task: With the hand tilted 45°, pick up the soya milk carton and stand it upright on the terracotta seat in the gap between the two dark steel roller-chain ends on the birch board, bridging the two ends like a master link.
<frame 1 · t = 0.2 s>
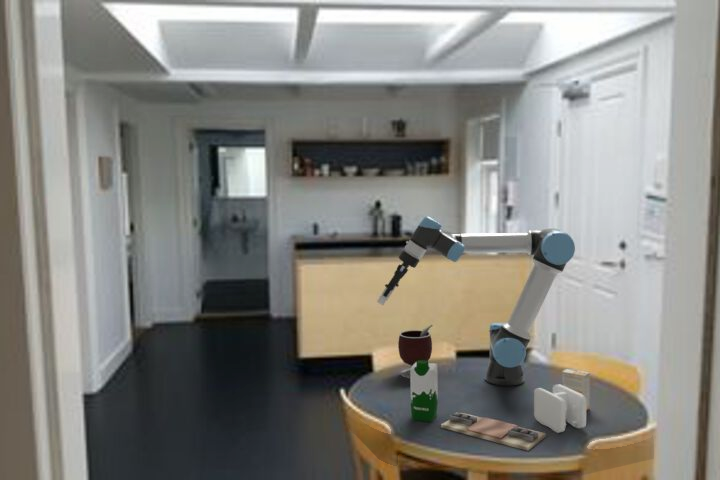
hand: (382, 301, 241), 35 cm above the table, tool tilted 35°, fingers open, 13 cm apart
cable organizer: (559, 425, 206), on the table
supplement box: (575, 408, 221), on the table
soya milk: (424, 417, 215), on the table
mate gourd: (417, 374, 263), on the table
chain ends: (492, 431, 202), on the table
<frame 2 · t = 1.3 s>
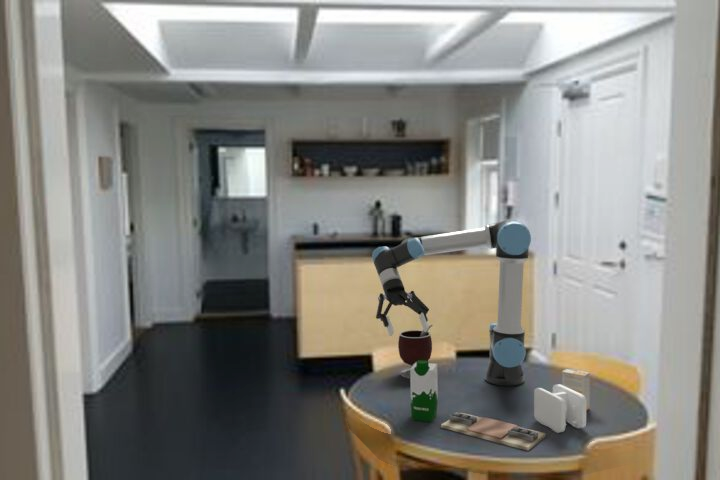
hand: (409, 331, 223), 27 cm above the table, tool tilted 45°, fingers open, 13 cm apart
nothing on the table moved.
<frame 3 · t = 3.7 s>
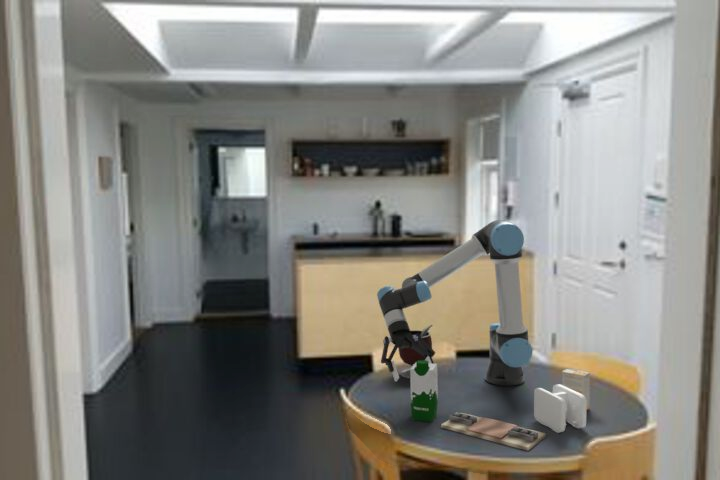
hand: (415, 377, 218), 13 cm above the table, tool tilted 45°, fingers open, 13 cm apart
nothing on the table moved.
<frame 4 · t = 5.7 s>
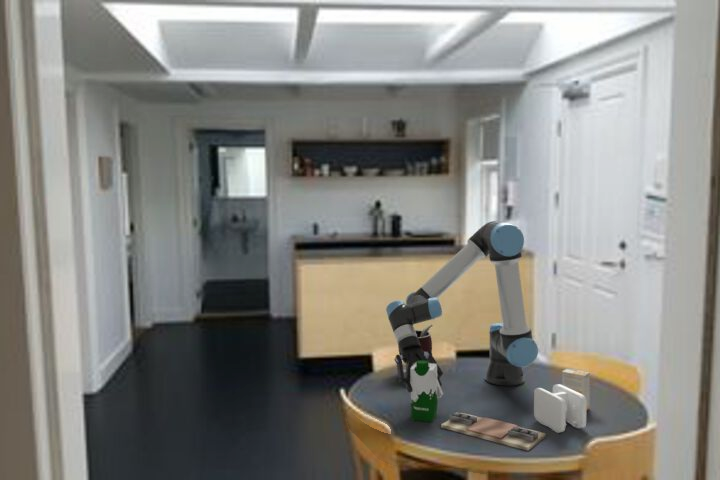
hand: (428, 398, 212), 8 cm above the table, tool tilted 45°, fingers closed on soya milk, 9 cm apart
soya milk: (424, 417, 215), on the table, touching gripper
everything else where it was.
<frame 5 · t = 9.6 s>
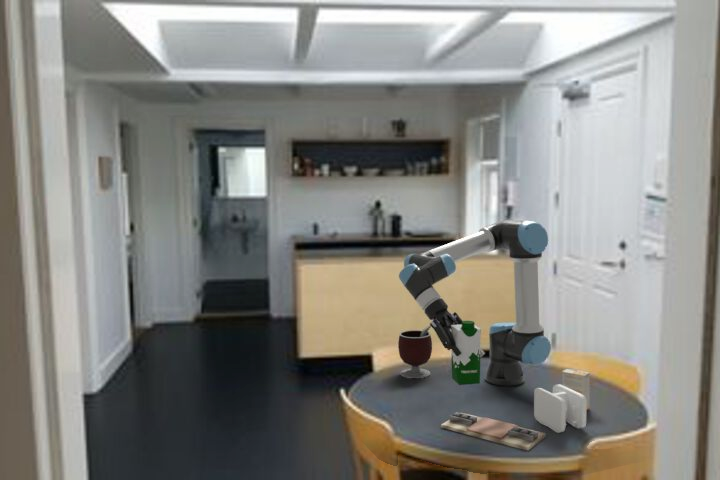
hand: (474, 359, 202), 23 cm above the table, tool tilted 45°, fingers closed on soya milk, 9 cm apart
soya milk: (465, 381, 205), point 15 cm above the table, touching gripper
everything else where it was.
when the fingers open (11 cm above the table, at t = 13.5 s): soya milk drops 1 cm, resting on chain ends.
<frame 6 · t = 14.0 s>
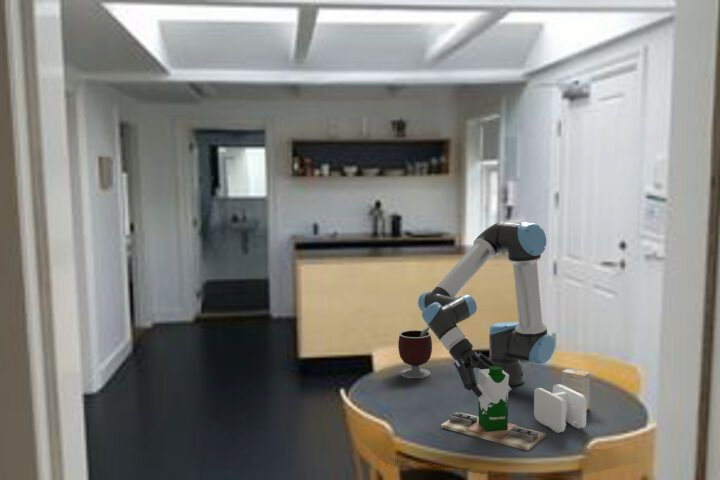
hand: (498, 397, 199), 12 cm above the table, tool tilted 45°, fingers open, 13 cm apart
soya milk: (492, 427, 202), point 1 cm above the table, touching chain ends
everything else where it was.
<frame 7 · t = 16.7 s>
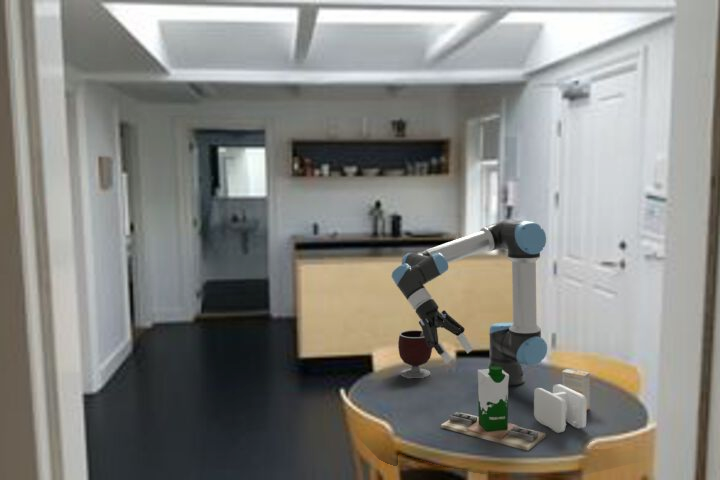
hand: (460, 356, 209), 22 cm above the table, tool tilted 40°, fingers open, 13 cm apart
nothing on the table moved.
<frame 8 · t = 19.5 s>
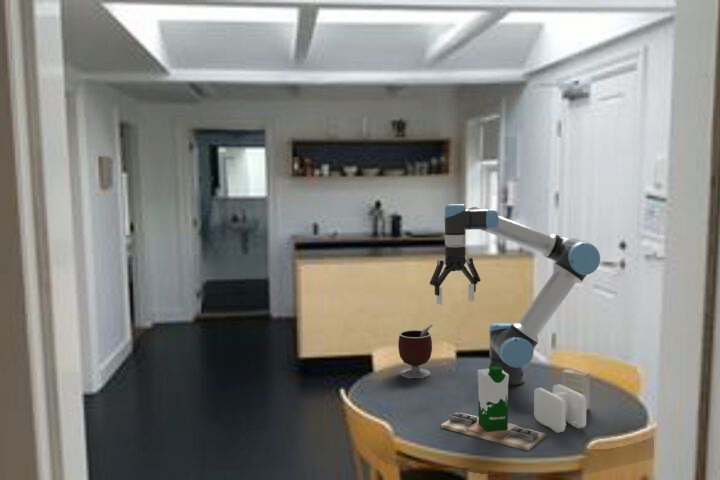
hand: (455, 302, 236), 35 cm above the table, tool pointing down, fingers open, 13 cm apart
nothing on the table moved.
at the end: soya milk 0.4 cm off-centre on the chain ends, point 1.4 cm above the chain ends's base; soya milk tilted 0°; the gripper is holding nothing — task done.
